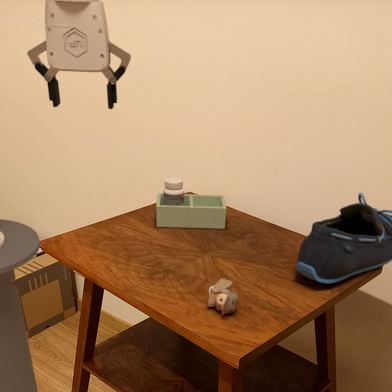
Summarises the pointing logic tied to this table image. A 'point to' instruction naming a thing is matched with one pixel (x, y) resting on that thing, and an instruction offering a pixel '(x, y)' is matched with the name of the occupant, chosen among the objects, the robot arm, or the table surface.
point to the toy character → (223, 296)
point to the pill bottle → (173, 192)
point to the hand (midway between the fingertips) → (84, 106)
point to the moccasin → (347, 244)
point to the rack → (192, 212)
